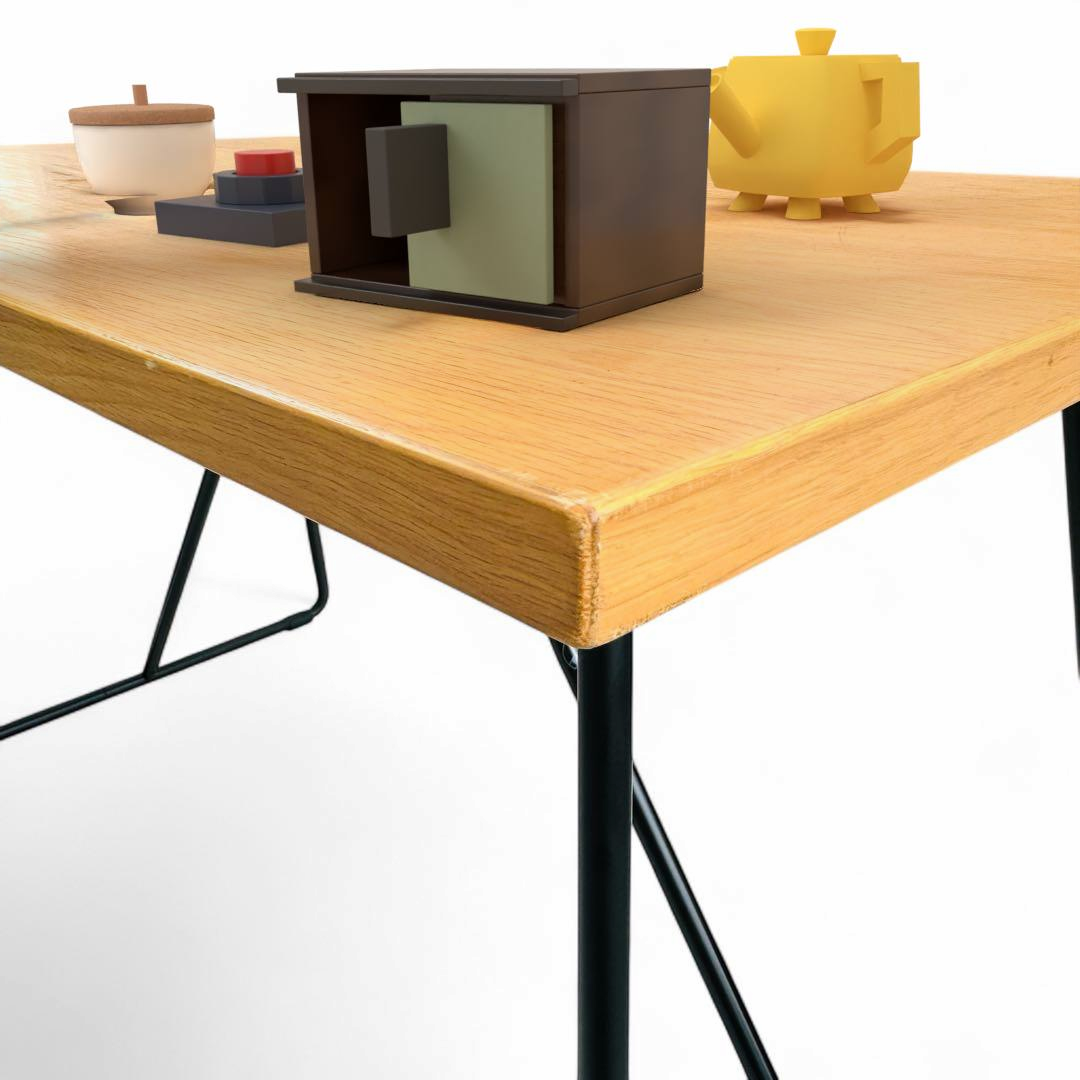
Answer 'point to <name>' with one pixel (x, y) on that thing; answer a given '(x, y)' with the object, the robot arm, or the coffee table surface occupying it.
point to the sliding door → (468, 196)
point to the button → (265, 162)
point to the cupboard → (578, 185)
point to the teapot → (813, 126)
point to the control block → (241, 211)
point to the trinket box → (145, 150)
